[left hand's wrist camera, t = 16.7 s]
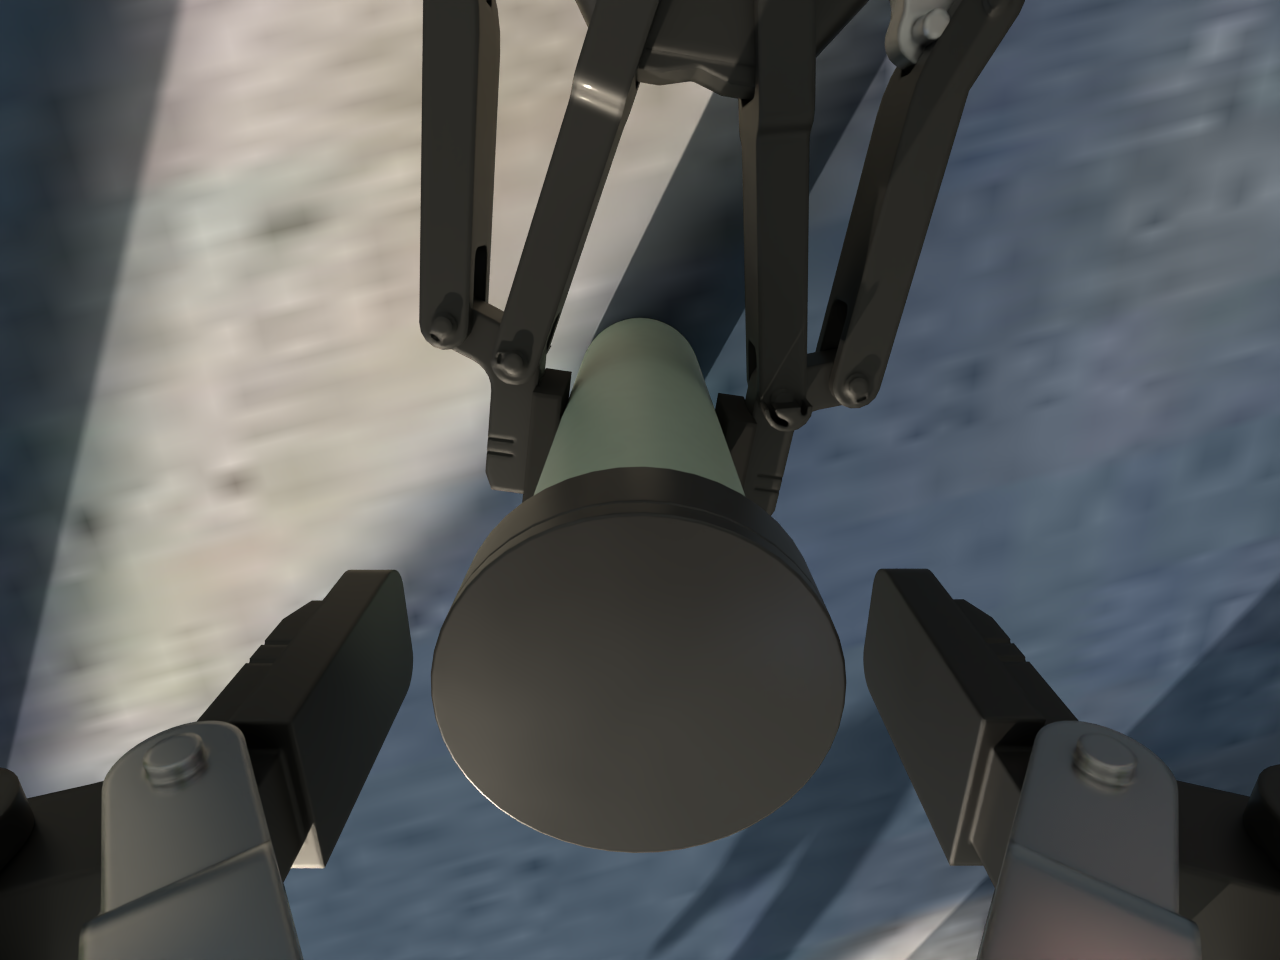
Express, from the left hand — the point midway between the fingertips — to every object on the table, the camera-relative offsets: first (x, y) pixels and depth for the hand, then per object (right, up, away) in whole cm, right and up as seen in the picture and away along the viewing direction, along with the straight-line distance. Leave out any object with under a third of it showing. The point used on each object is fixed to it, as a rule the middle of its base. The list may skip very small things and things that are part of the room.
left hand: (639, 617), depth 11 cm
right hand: (-1, -1, +10) cm, 10 cm away
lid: (0, -1, -2) cm, 2 cm away
